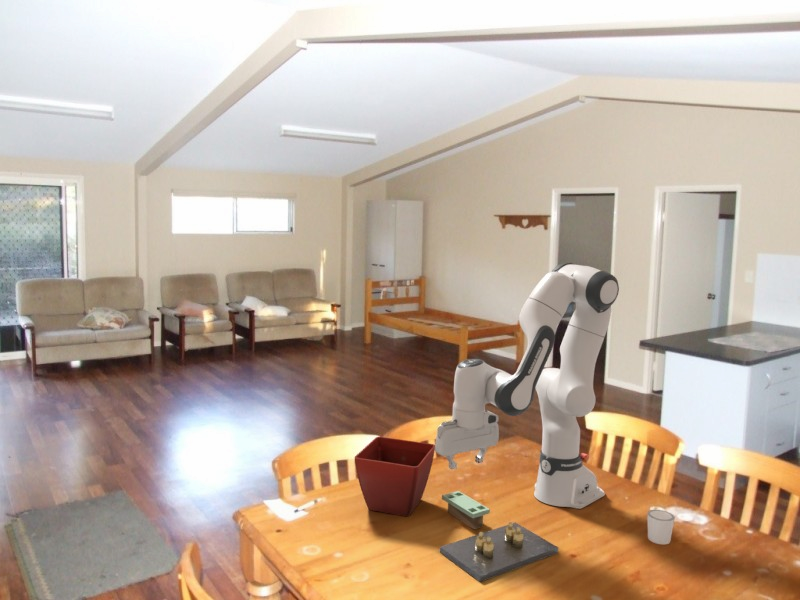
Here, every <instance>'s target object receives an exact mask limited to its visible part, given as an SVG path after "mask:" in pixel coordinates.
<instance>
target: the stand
mask: <svg viewBox="0 0 800 600" xmlns="http://www.w3.org/2000/svg"><path fill="white" fill-rule="evenodd" d="M447 513H448V514H450V515H451V516H452V517H454V518H455V519H457V520H459V521H461V522H462V524H463V523H464V524H465V525H467V526H468V527H470V528H471V529H473V530H477V529H480V528H483V526H484V525H483V524H484V522H483V521H484V515H482V516H479V517H476V518H471V517H470V516H468V515H467V514H465V513H463V512H462V511H460V510H459V509H457V508H455V507H454V506H452V505H451V504H449V503H447Z"/></svg>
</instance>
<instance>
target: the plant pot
mask: <svg viewBox="0 0 800 600" xmlns="http://www.w3.org/2000/svg"><path fill="white" fill-rule="evenodd" d="M435 452H436V451H435V443H434V444H433V443H427V442H420V441H414V440H406V439H400V438H393V437H392V438H391V437H387V436H385V437H384V436H377V437H374V439H372V441H370V442H369V443H368V444H367V445H366V446H365V447H364V448H362V450H360V452H359V453H357V454H356V455H355V456H354V463H355V469H356V475H357V479H358V482H359V486H360V490H361V492H362V496H363V499H364V501H365V504H366V506H367V509H368V510H369V511H375V512H379V513H385V514H386V513H387V514H391V515H397V516H403V517H409V516H410V515H411V514H412V513H413V511H414V510H415V509H416V508H417V506H418V504H419V503H420V502H421V500H422V498H423V495H424V493H425V489H426V487H427V484H428V480H429V477H430V474H431V470H432V467H433V466H432V465H433V460H434V456H435Z"/></svg>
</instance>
